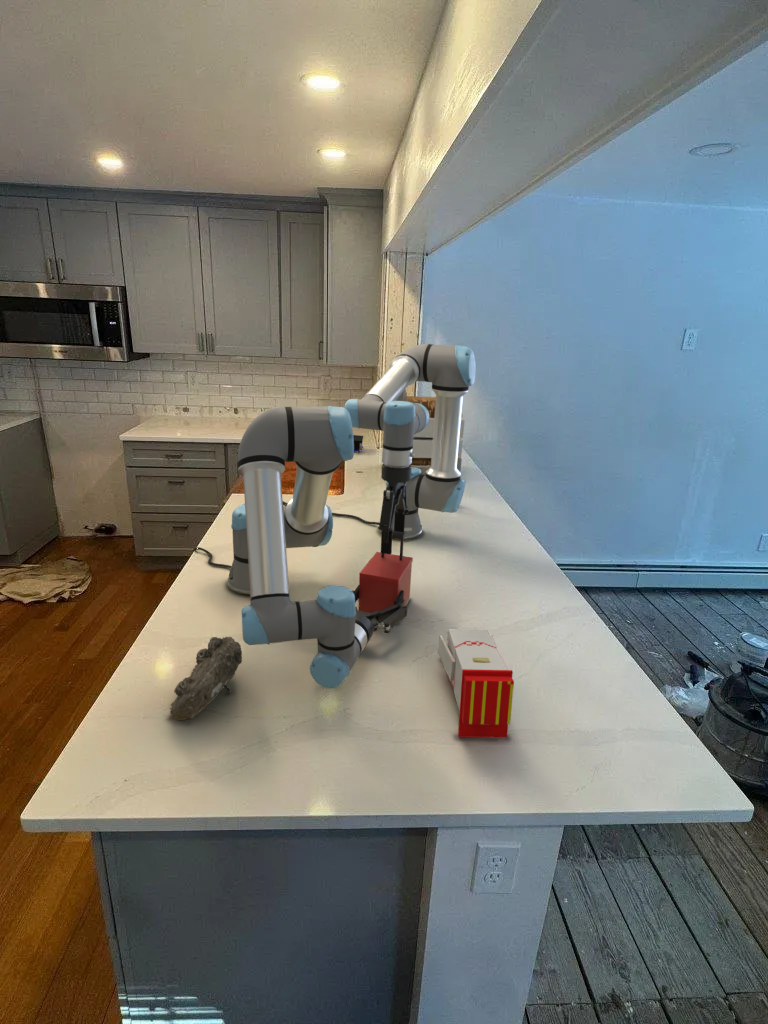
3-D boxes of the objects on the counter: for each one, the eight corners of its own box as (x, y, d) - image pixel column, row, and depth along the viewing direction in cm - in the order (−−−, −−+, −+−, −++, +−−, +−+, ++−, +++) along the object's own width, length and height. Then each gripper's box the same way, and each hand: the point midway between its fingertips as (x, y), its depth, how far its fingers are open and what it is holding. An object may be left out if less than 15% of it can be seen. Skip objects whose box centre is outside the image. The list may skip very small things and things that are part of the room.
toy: (488, 613, 130) (523, 677, 101) (484, 667, 133) (517, 744, 104) (435, 612, 130) (455, 676, 101) (432, 666, 133) (451, 743, 103)
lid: (376, 555, 155) (377, 525, 152) (412, 561, 152) (414, 530, 149) (359, 577, 142) (360, 544, 139) (398, 584, 139) (400, 550, 136)
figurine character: (362, 456, 306) (363, 447, 319) (363, 443, 302) (363, 434, 316) (350, 456, 306) (351, 446, 319) (350, 442, 302) (351, 433, 316)
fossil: (193, 639, 125) (242, 608, 120) (224, 667, 128) (272, 638, 123) (147, 714, 105) (202, 680, 100) (184, 746, 108) (239, 715, 103)
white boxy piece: (382, 463, 289) (386, 382, 275) (445, 464, 293) (451, 384, 279) (390, 482, 257) (394, 392, 243) (460, 483, 261) (468, 394, 247)
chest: (374, 592, 158) (375, 556, 154) (409, 599, 155) (411, 562, 152) (358, 616, 146) (359, 577, 142) (396, 623, 143) (398, 584, 139)
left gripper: (304, 640, 129) (340, 596, 149) (400, 660, 123) (424, 612, 143) (304, 611, 127) (340, 570, 147) (402, 630, 121) (426, 585, 141)
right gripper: (398, 478, 130) (393, 564, 138) (422, 455, 152) (417, 531, 159) (367, 474, 132) (364, 559, 140) (395, 452, 154) (391, 527, 161)
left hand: (381, 591), depth 145 cm, fingers closed on chest, 10 cm apart
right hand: (392, 544), depth 149 cm, fingers open, 11 cm apart
